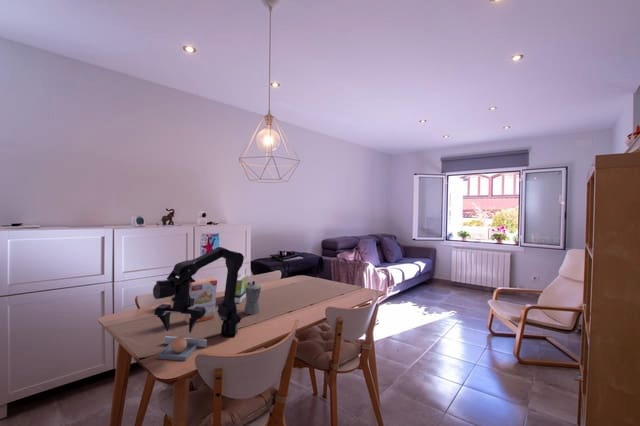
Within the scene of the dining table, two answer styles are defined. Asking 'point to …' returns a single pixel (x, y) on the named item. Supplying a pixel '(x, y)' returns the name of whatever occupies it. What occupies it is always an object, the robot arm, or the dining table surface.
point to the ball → (178, 344)
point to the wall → (188, 341)
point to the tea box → (241, 288)
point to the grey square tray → (183, 355)
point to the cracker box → (203, 297)
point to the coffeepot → (252, 298)
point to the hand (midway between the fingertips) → (179, 331)
